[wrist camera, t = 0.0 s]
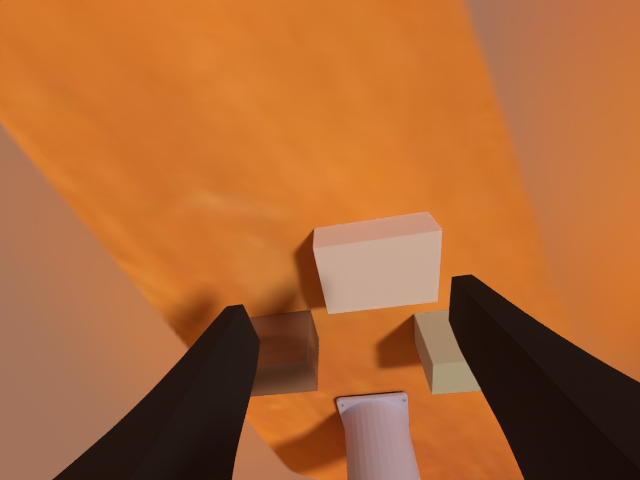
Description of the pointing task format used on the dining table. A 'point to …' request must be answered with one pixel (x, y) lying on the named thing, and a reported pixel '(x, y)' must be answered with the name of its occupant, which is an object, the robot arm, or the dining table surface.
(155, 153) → the dining table surface
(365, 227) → the pale grey brick
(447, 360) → the sage brick
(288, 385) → the walnut brick
